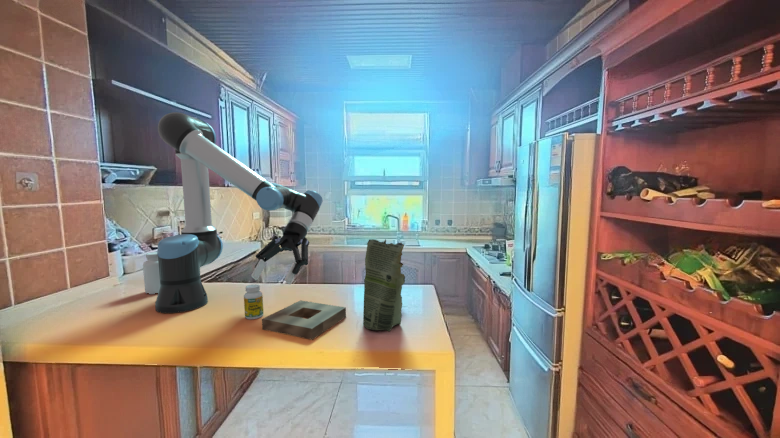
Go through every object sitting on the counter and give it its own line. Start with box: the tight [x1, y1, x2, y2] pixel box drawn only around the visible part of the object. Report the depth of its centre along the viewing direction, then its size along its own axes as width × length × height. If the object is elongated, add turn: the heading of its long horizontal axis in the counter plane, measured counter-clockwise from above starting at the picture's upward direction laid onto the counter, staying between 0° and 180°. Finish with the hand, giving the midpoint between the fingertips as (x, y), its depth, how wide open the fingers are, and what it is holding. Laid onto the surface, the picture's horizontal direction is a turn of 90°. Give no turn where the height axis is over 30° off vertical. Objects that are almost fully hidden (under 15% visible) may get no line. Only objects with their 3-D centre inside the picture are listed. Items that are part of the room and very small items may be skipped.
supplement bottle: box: [243, 283, 264, 320], centre depth 106 cm, size 5×5×10 cm
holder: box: [261, 299, 347, 341], centre depth 101 cm, size 17×17×3 cm
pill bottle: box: [142, 251, 160, 295], centre depth 132 cm, size 8×8×15 cm
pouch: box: [362, 238, 406, 332], centre depth 98 cm, size 11×12×25 cm
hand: (270, 280), depth 111 cm, fingers open, 13 cm apart
